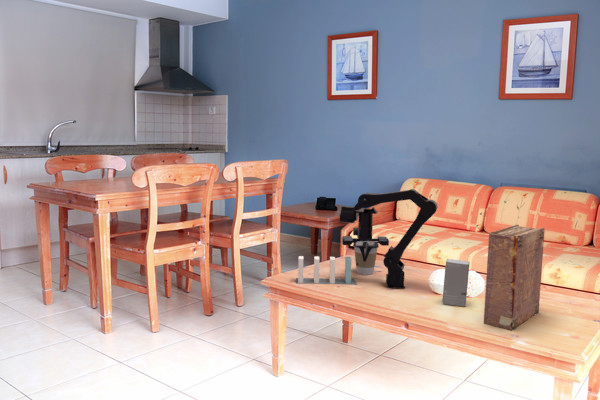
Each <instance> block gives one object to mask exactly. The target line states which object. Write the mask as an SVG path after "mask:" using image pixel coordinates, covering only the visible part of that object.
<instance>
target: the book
mask: <svg viewBox="0 0 600 400" xmlns="http://www.w3.org/2000/svg"><path fill="white" fill-rule="evenodd" d="M544 241H545V227H542V228H541V227H540V228H534V227H526V226H519V224H514V225H511V226H508V227H504V228H502V229H499V230H495V231H491V232H489V233H488V245H487V246H488V247H487V261H486V276H485V277H486V280H485V295H484V296H485V297H484V309H483V310H484V312H483V324H484V325H490V326H493V327H496V328H501V329H504V330H510V331H513V330H515V329H516V328H518V327H519V326H521V325H522V324H524V323H526V321H528V320H530V319H531V318H533V317H534V316H536V315H537V314H539V312H540V311H539V310H540V298H541V297H540V296H541V283H542V282H541V281H542V272H543V270H542V269H543V254H544ZM535 314H536V315H535ZM532 316H533V317H532ZM529 318H530V319H529Z"/></svg>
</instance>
